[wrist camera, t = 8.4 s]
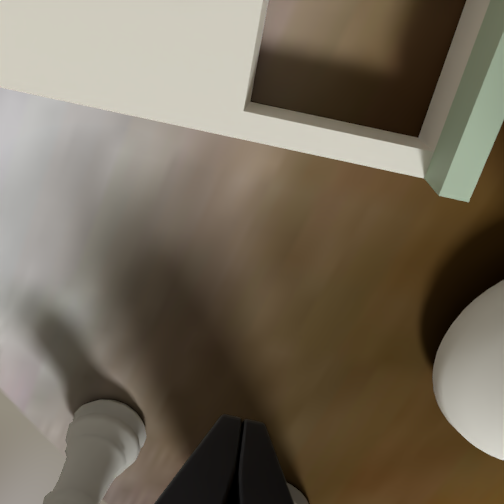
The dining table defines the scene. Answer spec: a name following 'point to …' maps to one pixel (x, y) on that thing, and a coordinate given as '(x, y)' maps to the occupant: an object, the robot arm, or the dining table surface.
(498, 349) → the flower in vase
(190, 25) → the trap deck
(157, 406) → the dining table surface
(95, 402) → the rook chess piece
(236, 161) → the dining table surface
